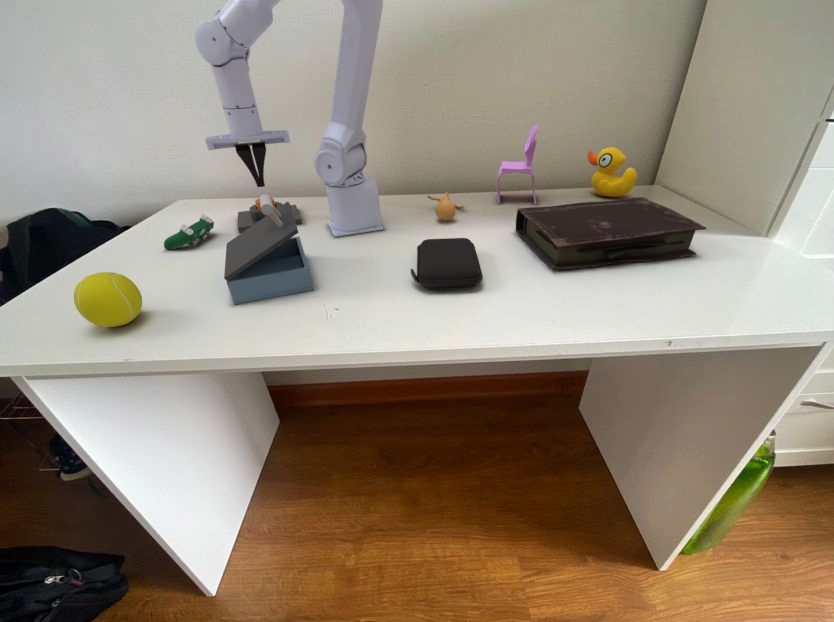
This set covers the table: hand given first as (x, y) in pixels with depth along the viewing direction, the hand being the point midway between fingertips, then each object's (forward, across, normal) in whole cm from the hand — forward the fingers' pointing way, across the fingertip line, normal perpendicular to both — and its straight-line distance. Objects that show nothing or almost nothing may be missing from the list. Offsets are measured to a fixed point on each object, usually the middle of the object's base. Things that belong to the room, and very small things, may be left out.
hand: (261, 185), depth 83 cm
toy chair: (+8, -53, +9) cm, 54 cm away
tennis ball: (+7, +21, +33) cm, 40 cm away
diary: (+8, -54, +37) cm, 66 cm away
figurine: (+6, -32, +16) cm, 37 cm away
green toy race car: (+7, +14, +6) cm, 17 cm away
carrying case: (+8, -25, +36) cm, 44 cm away
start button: (+4, 0, 0) cm, 4 cm away
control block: (+7, 0, 0) cm, 7 cm away
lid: (+1, +1, +27) cm, 27 cm away
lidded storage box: (+7, +1, +27) cm, 28 cm away
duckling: (+8, -73, +15) cm, 75 cm away
